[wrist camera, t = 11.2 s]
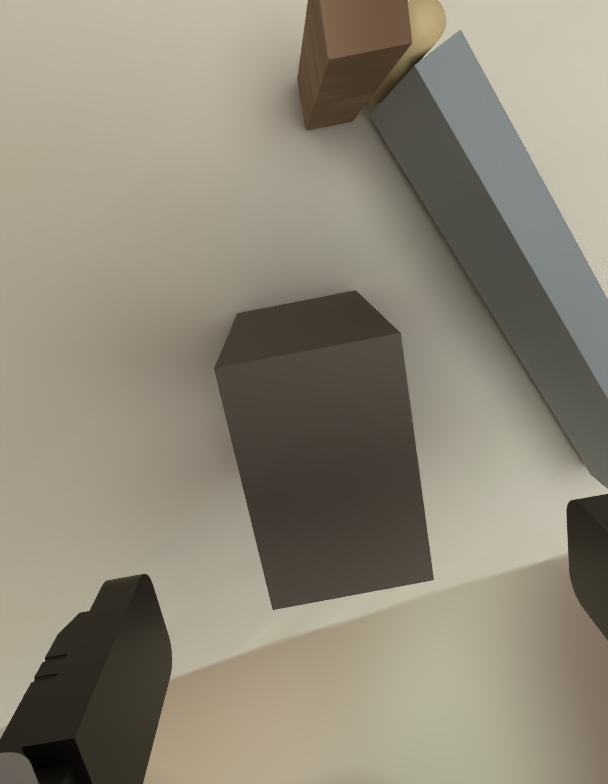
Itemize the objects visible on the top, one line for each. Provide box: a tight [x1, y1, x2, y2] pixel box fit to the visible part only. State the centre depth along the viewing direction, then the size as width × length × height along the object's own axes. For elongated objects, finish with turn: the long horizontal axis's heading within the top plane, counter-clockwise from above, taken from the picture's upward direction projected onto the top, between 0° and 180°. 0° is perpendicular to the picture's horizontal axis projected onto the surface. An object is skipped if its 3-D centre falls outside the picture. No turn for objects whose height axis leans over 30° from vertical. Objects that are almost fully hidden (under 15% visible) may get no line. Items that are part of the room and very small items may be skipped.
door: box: [367, 0, 608, 488], centre depth 17 cm, size 18×3×6 cm, turn 36°
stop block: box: [214, 291, 434, 610], centre depth 18 cm, size 4×7×8 cm, turn 10°
